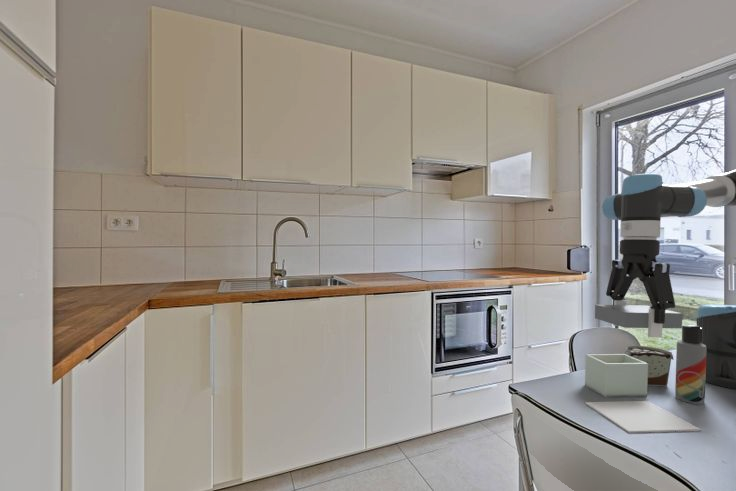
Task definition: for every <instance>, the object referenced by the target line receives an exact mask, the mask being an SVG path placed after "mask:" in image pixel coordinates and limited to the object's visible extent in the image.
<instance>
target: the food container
mask: <svg viewBox="0 0 736 491" xmlns="http://www.w3.org/2000/svg"><path fill="white" fill-rule="evenodd" d="M623 354H626V355H628V356H631V357H633V358H635V359H638V360H640V361H643V362H645V363H648V382H647V386H651V387H652V386H653V387H668V383H669V377H670V369H671V363H672V360H673V361H674V360H675V359H674V355H673V353H672V351H668V350H665V349H663V348H662V349H661V348H657V347H653V346H646V345H627V347H626V348H625V350H624V353H623Z"/></svg>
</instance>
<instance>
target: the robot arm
mask: <svg viewBox="0 0 736 491" xmlns="http://www.w3.org/2000/svg"><path fill="white" fill-rule="evenodd" d="M621 186H622V187H621V192H620V193H616V194H613V195H608V196H606V198H605V199H604V200H603V202H602V205H601V208H602V209H601V210H602V214H603V216H604V217H606V218H607V219H608V220H611V221H615V220H616V221H620V237H621V238H623V239H621V240H620V241H619V254H621V255H622V259H612V260H611V271H610V275H609V280H608V284H607V287H606V292H605V295H606V296H608V297H610V298H611V300H612V305H627V298H625V296H626V295H627V293H628V291H629V289H630V287H631V285H632V283H633V282H634V280H636V279H637V278H638V279H639V281H640V282H642V284H643V287H644V289H645V293H646V295H647V297H648V299H649V302H650V304H651V307H650V308H649V317H648V328H647V337H649V338H662V337H663V328H662V324H664V322H665V310H668V309H675V307H676V302H675V298H674V293H673V292H674V291H673V287H672V281H671V277H670V269H671V265H670V263H666V262H663V263H661V262H658V261H657V259H656V258H657V257H658V256H659V255H660V250H661V249H660V244H661V243H660V240H658V238H660V237H661V219H662V218H667V217H668V218H669V217H670V218H671V217H677V218H686V217H687V218H689V217H694V216H696V215H697V216H698V215H699V214H700V213H702V211H703V210H705V208H706V207H711V208H721V207H731V206H732V207H734V206H736V169H734V170H731V171H729V172H724V173H720V174H714V175H710V176H707V177H706V178H704V179H703V180H699V181H692V182H687V183H685V182H684V183H679V184H674V185H673V184H671V185H670V184H664V182H663V176H662V175H661V174H659V173H653V172H652V173H649V172H648V173H637V174H633V175H629V176H626V177H625V178H624V179H623V181H622V185H621ZM695 319H696V326H700V327H701V328H702V342H701V344H704V345H706V379H705V383H708V384H711V385H715V386H720V387H722V388H723V387H724V388H728V389H729V388H730V389H734V390H736V304H735V305H734V304H703V305H700V306H698V308H697V312H696V317H695ZM612 325H613V326H615V327H619V326H618V325H615V324H612Z"/></svg>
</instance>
